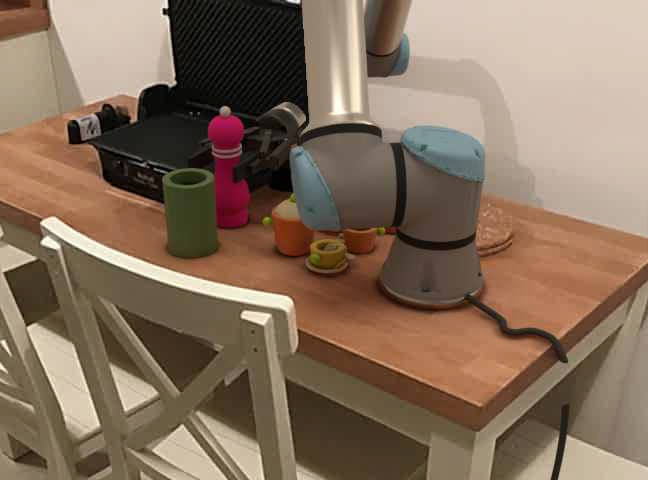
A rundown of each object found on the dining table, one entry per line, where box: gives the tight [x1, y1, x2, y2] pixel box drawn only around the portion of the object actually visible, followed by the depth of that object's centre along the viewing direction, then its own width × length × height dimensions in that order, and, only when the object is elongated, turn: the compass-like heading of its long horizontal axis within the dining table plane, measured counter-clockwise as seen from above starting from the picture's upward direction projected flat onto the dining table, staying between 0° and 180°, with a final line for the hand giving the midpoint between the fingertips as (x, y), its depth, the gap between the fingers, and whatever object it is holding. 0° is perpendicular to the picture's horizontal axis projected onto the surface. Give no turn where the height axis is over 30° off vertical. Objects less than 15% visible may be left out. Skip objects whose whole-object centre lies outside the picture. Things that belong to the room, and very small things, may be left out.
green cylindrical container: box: [161, 167, 219, 259], centre depth 148 cm, size 8×8×12 cm
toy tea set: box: [262, 192, 396, 274], centre depth 149 cm, size 26×16×10 cm, turn 137°
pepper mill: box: [207, 105, 251, 229], centre depth 154 cm, size 7×7×20 cm
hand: (212, 170), depth 150 cm, fingers open, 8 cm apart
